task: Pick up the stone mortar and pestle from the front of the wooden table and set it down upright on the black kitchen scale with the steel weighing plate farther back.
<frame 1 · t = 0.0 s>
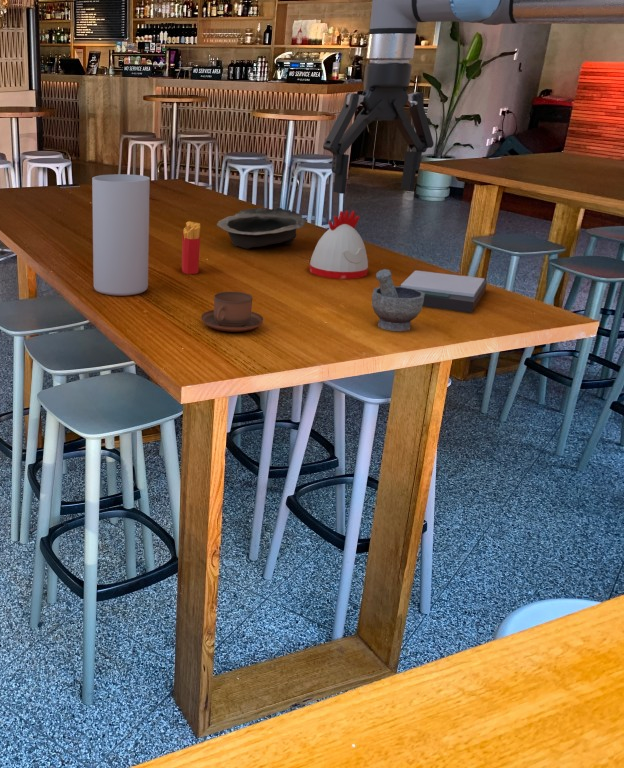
hand: (373, 191, 141), 27 cm above the table, tool pointing down, fingers open, 13 cm apart
french fries: (190, 271, 198), on the table
cup and saucer: (231, 327, 155), on the table
kitchen timer: (337, 272, 197), on the table
cylinder vase: (120, 290, 182), on the table
kitchen scale: (439, 296, 175), on the table
mortar and pestle: (391, 328, 155), on the table
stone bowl: (259, 246, 225), on the table
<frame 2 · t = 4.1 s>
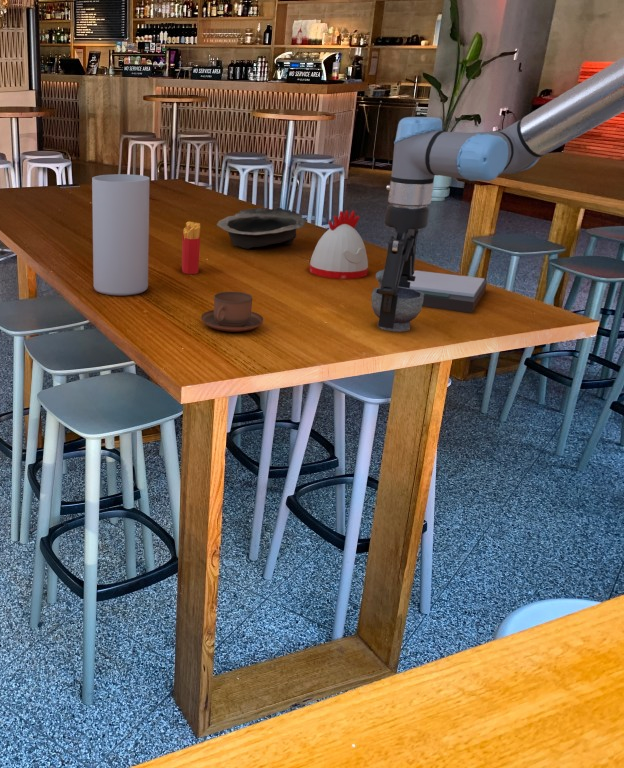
hand: (392, 319, 155), 1 cm above the table, tool pointing down, fingers closed on mortar and pestle, 10 cm apart
mortar and pestle: (391, 328, 155), on the table, touching gripper
everything else where it was.
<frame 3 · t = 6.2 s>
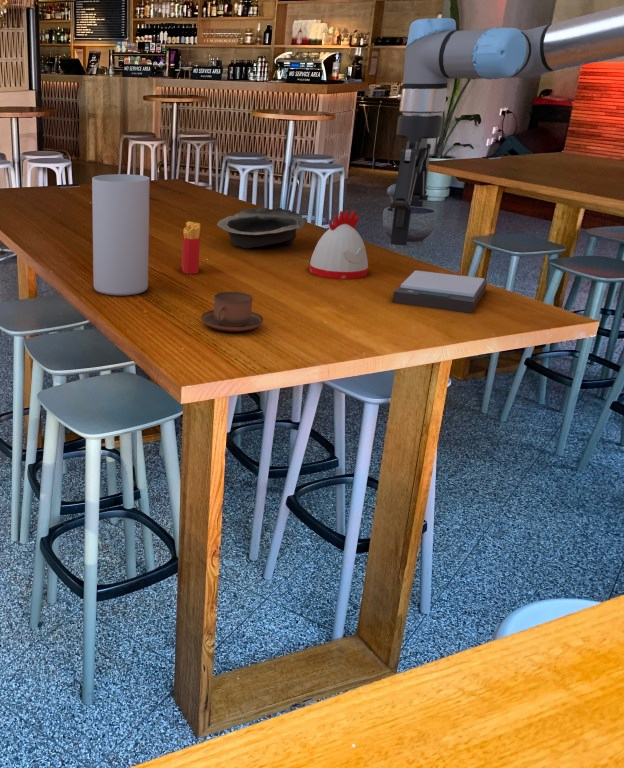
hand: (404, 239, 149), 17 cm above the table, tool pointing down, fingers closed on mortar and pestle, 10 cm apart
mortar and pestle: (403, 248, 149), point 16 cm above the table, touching gripper
everything else where it was.
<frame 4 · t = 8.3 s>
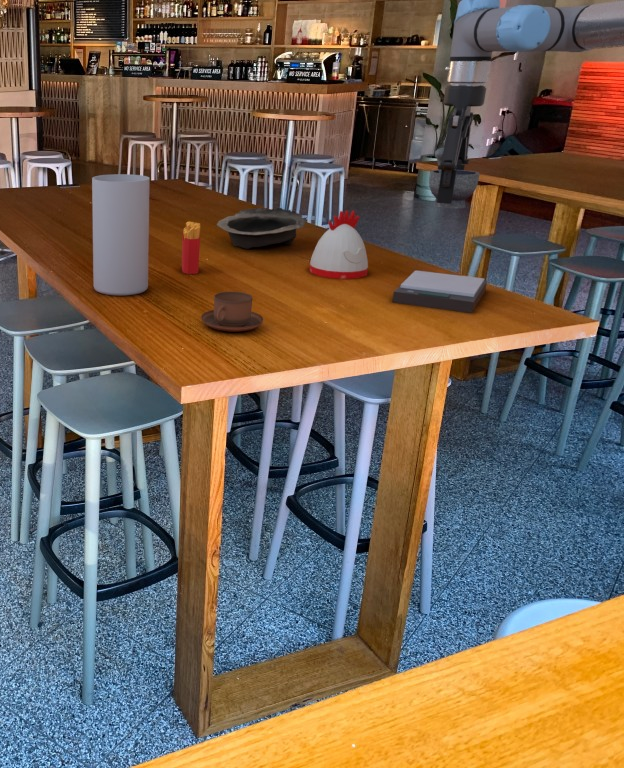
hand: (448, 199, 164), 22 cm above the table, tool pointing down, fingers closed on mortar and pestle, 10 cm apart
mortar and pestle: (447, 207, 164), point 20 cm above the table, touching gripper
everything else where it was.
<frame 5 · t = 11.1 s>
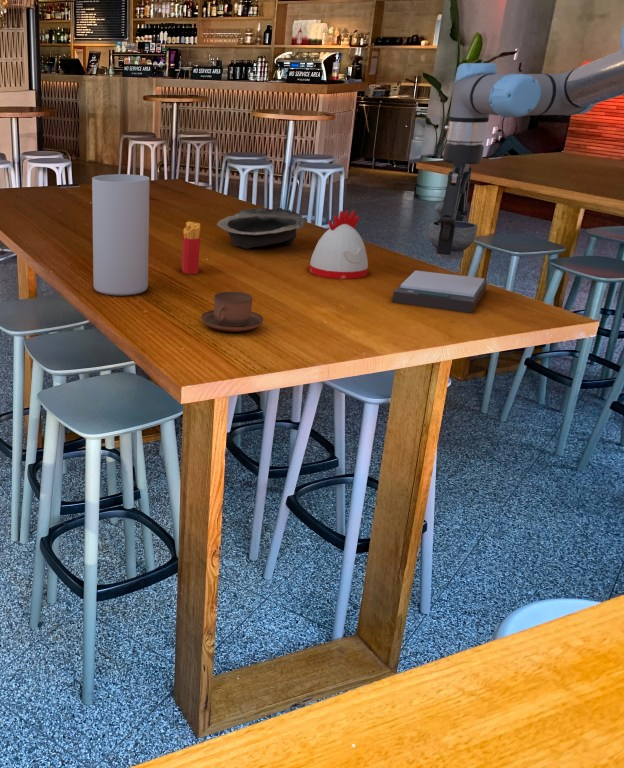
hand: (447, 249, 172), 10 cm above the table, tool pointing down, fingers closed on mortar and pestle, 10 cm apart
mortar and pestle: (446, 257, 172), point 9 cm above the table, touching gripper
everything else where it was.
when the fingers open (4 cm above the table, at t = 13.0 s): mortar and pestle stays where it is, resting on kitchen scale.
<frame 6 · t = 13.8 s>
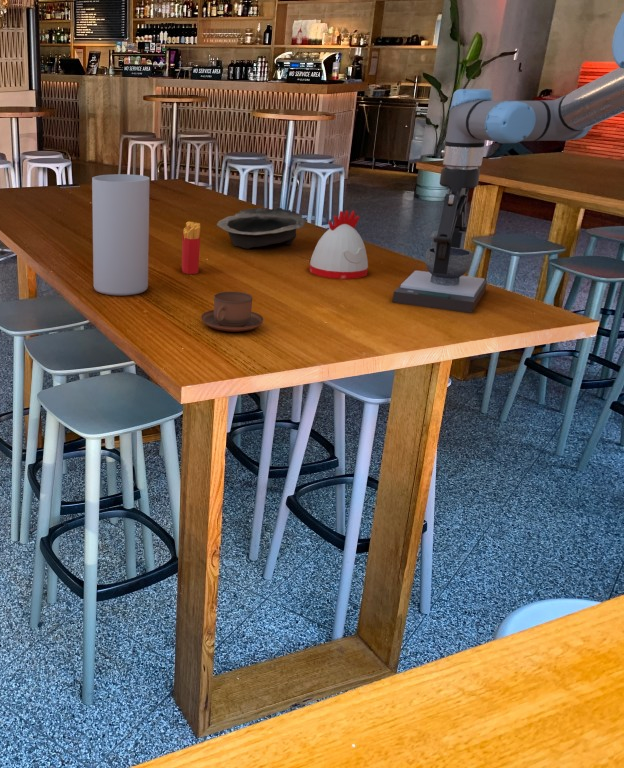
hand: (445, 267, 174), 7 cm above the table, tool pointing down, fingers open, 13 cm apart
mortar and pestle: (442, 283, 175), point 3 cm above the table, touching kitchen scale
everything else where it was.
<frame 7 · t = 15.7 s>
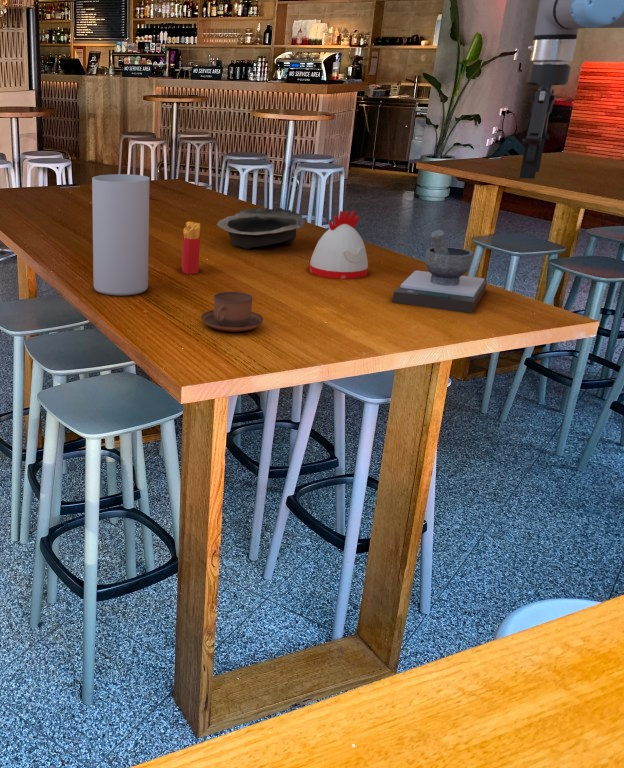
hand: (529, 174, 163), 27 cm above the table, tool pointing down, fingers open, 13 cm apart
nothing on the table moved.
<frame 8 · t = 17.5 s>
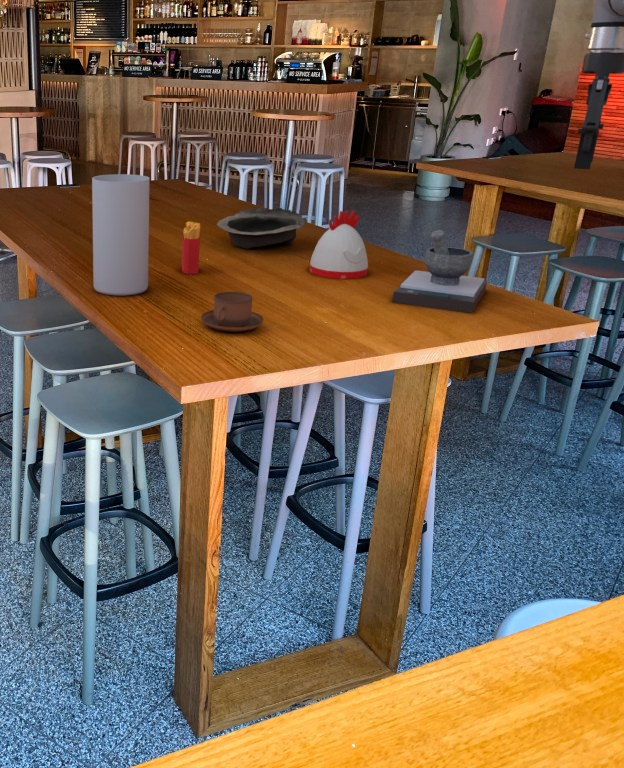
hand: (583, 165, 160), 29 cm above the table, tool pointing down, fingers open, 13 cm apart
nothing on the table moved.
at the end: mortar and pestle inside the target area on the kitchen scale (1.2 cm from its centre), point 2.9 cm above the kitchen scale's base; mortar and pestle tilted 0°; the gripper is holding nothing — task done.
